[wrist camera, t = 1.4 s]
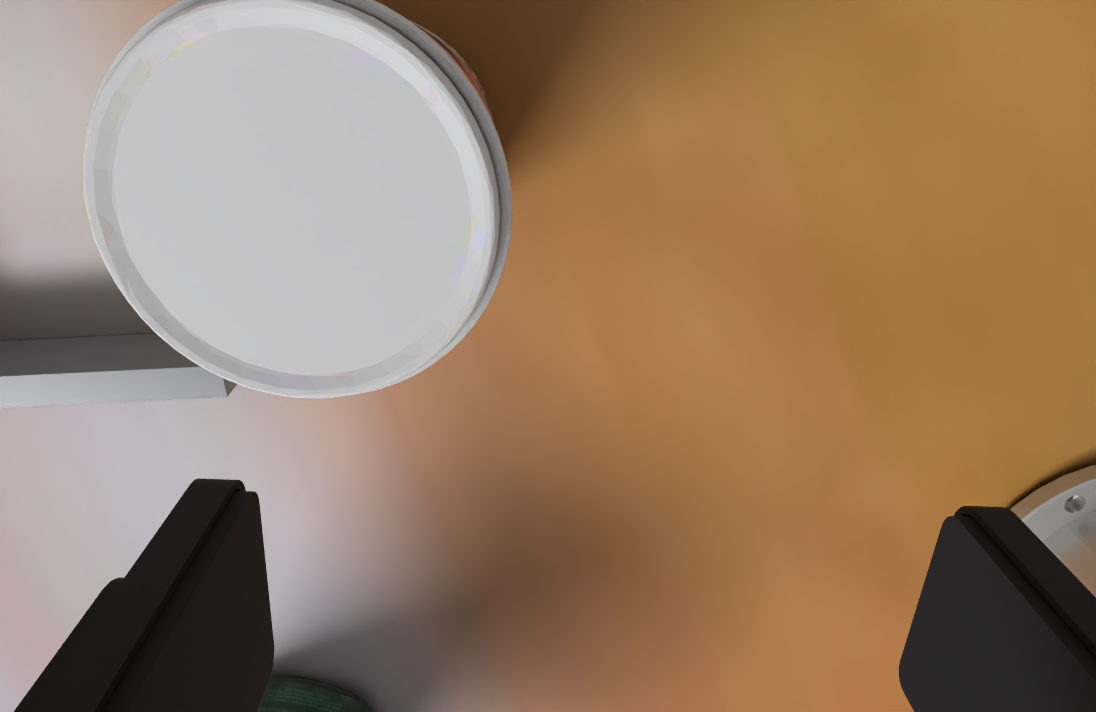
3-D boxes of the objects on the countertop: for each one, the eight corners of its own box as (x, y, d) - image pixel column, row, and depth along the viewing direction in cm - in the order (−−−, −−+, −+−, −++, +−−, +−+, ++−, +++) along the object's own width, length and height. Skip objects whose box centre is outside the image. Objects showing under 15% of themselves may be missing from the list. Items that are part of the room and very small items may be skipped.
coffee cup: (553, 214, 29) (569, 338, 18) (322, 296, 30) (205, 460, 19) (458, -55, 26) (407, -102, 15) (199, 48, 27) (-30, 76, 16)
